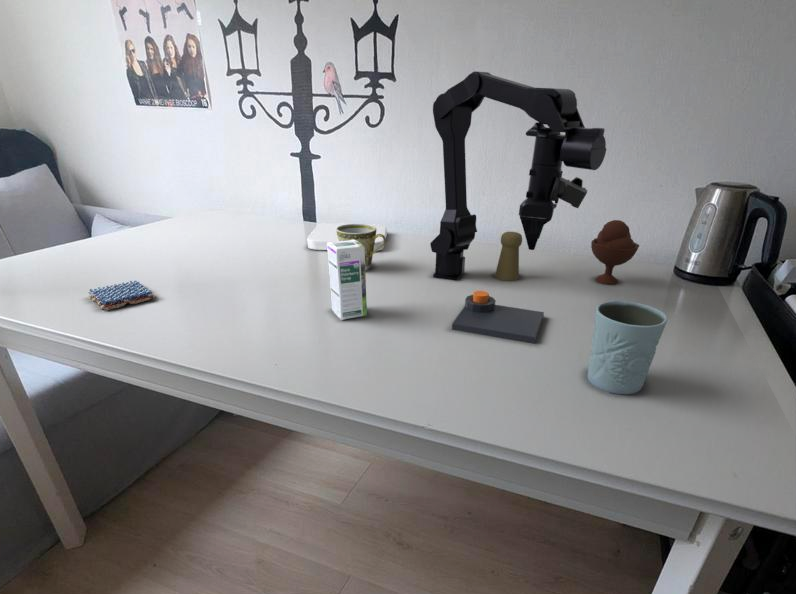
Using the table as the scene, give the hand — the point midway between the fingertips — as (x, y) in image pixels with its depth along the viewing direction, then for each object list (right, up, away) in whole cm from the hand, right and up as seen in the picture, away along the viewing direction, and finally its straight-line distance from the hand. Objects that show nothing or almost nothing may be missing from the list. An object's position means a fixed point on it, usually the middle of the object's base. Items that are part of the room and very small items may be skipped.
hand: (534, 243), depth 103 cm
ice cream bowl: (+23, -4, +20) cm, 31 cm away
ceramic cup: (-39, 0, +23) cm, 45 cm away
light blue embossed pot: (+7, -29, -23) cm, 38 cm away
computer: (-45, +14, +45) cm, 66 cm away
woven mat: (-88, -12, +2) cm, 89 cm away
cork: (-2, -2, +21) cm, 21 cm away
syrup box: (-39, -15, -2) cm, 42 cm away
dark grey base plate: (-8, -18, -5) cm, 20 cm away
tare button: (-12, -12, -2) cm, 17 cm away
